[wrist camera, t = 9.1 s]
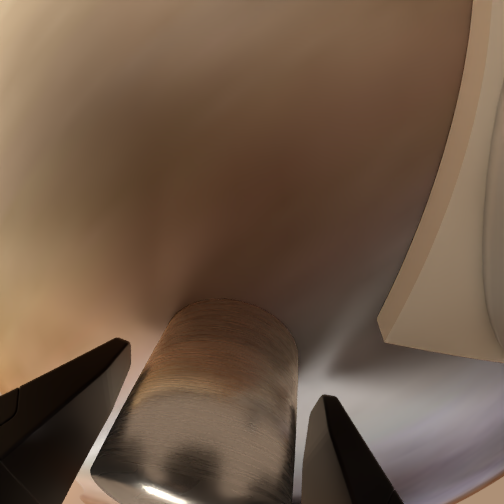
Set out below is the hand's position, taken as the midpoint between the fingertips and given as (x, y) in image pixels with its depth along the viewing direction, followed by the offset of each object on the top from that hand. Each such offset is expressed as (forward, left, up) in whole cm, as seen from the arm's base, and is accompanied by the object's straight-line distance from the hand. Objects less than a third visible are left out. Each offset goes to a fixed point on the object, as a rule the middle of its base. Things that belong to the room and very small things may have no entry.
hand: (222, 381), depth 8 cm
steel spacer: (0, 0, -1) cm, 1 cm away
